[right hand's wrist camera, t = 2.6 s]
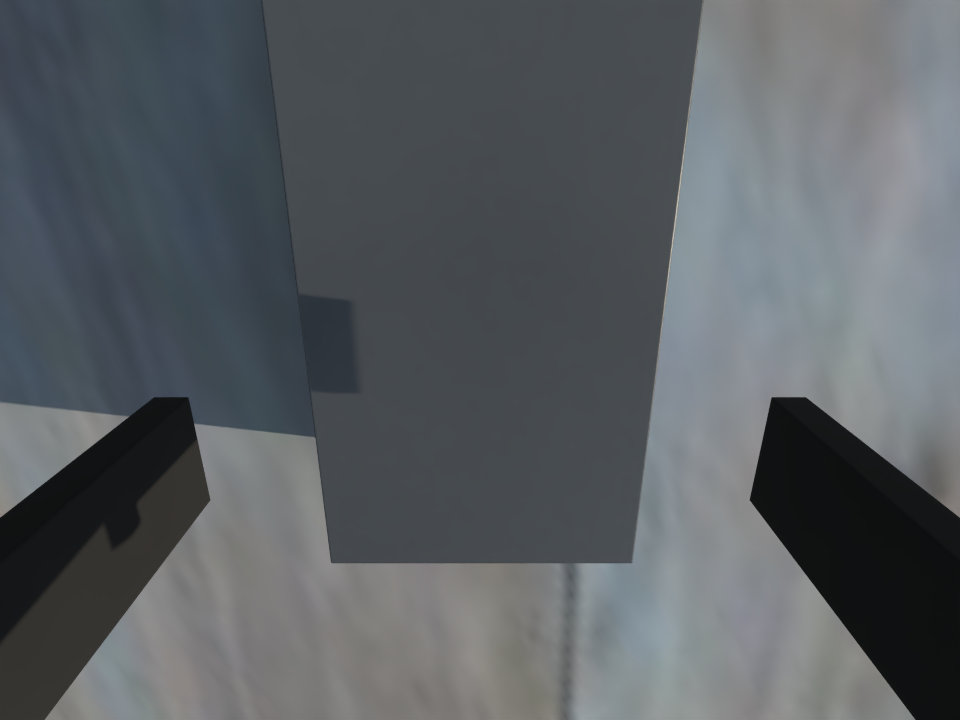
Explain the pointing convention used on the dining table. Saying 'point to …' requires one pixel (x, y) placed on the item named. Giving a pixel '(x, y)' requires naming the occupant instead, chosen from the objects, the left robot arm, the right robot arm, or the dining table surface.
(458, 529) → the wide beam
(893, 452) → the dining table surface
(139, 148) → the dining table surface
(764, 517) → the right robot arm
